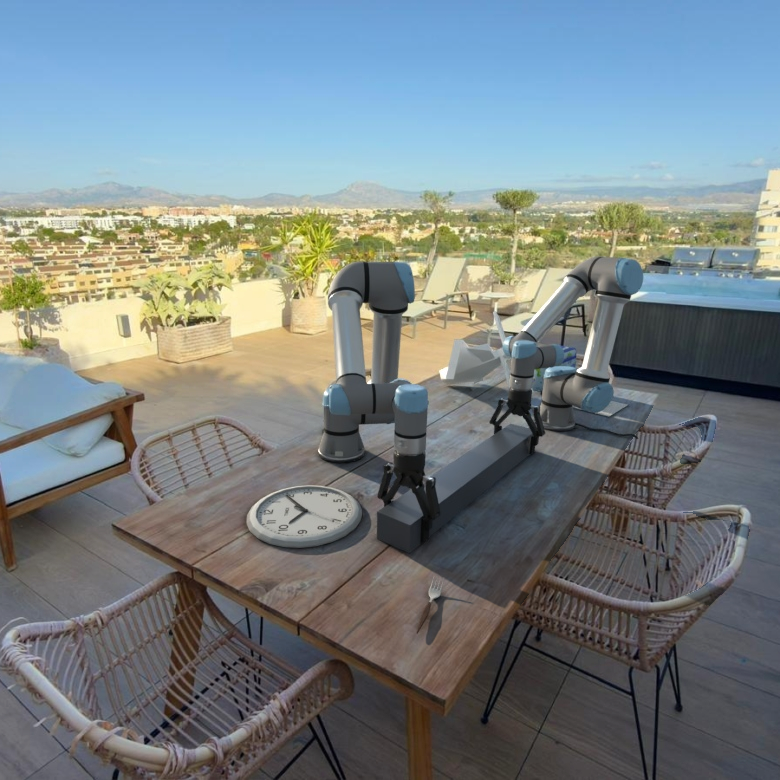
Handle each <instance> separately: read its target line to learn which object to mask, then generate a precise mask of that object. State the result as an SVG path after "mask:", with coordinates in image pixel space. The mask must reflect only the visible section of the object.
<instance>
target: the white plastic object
mask: <svg viewBox="0 0 780 780" xmlns="http://www.w3.org/2000/svg"><path fill="white" fill-rule="evenodd" d="M492 315H493V319H494V321H495V324H496V325H495V326H496V328H497V332H498V335H499V338H500V342H501V345H502V346H503V343H504V341H505V339H506V338H507V337H506V334H505V331H504V328H503V325H502V321H501V318H500V315H499V314H498V312H497V311H496V310H495V311H492ZM508 361H511V357H509V356H507V355H506V354H505V353H504V352H503V347H500V348H498V349H496V350H495V349H493V348H492V347H491V346H490V344H489V343H488V342H487V343H483V344H479V345H473V346H469V345H468V343H466V342H465V340H464V339H463V338H460V339H458V338H454V340H453V344H452V349H451V353H450V357H449V362H448V366H446V367H444V368H442V369H440V370H439V371H438V372H439V376H440V381H442V383H443V384H444V385H445V386H449V385H458V384H467V383H468V384H469V383H473V384H477V383H480V382H482V381H484V378H485V377H486V376H487V375H489V374H490V373H492V372H494V371H495V370H496V369H497V368H499V367H500V366H502V370H503V373H504V376H505V380H506V383H507V386H508V389H509V388H510V386H509V382H510V372H511V370H510V369H509V365H508Z"/></svg>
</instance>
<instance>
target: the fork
mask: <svg viewBox="0 0 780 780" xmlns="http://www.w3.org/2000/svg"><path fill="white" fill-rule="evenodd" d="M438 577H439V576H438V575H437V576H436V579H435V574H433V578H432V580H431V584H430V587H429V589H428V596H429V598H430V599H429V601H428V603H427V604H426V605H425V607H424V609H423V610H422V613H421V616H420V620H419V624H418V625H417V630H416V634H417V635H418V634H419V632H420V630H421V628H422V626H423V625H424V623H425V622H426V620H427V618H428V616H429V613H430V610H431V606H432V603H433V600H435V599H437V598H439V597H441V595H442V591H443V586H444V581H445V578H443V579H442V576H440V577H439V581H438ZM434 580H435V582H434ZM441 580H442V582H441ZM437 582H438V584H437ZM440 584H441V585H440Z"/></svg>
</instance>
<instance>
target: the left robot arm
mask: <svg viewBox="0 0 780 780" xmlns="http://www.w3.org/2000/svg"><path fill="white" fill-rule="evenodd" d="M415 289H416V288H415V280H414V274H413V270H412V268H411V265H410V264H409V263H407V262H404V261H403V262H402V261H395V260H394V261H362V260H361V261H353V262H351V263H348V264H347V265H345V266H344V267H342V268H341V269H340V270H338V272H337V273H336V274H335V276H334V277H333V279H332V280H331V282H330V285H329V288H328V292H327V306H328V308H329V309H330V310H331V313H332V315H331V317H332V332H333V335H332V336H333V350H334V353H333V354H334V369H335V384H331V385H329V387H328V388H327V389H326V390H325V391H324V392H323V395H322V396H323V397H322V407H323V408H322V409H323V420H322V421H323V429H322V430H321V432H322V433H323V434H322V435H321V436H322V437H321V440H320V443H319V446H318V456H319V457H320V459H322V460H324V461H326V462H329V463H334V464H335V463H337V464H345V463H351V462H356V461H358V460H360V459H361V458H363V457H364V456H365V444H364V441H363V439H362V436H361V434H360V426H361V425H382V424H385V425H390V424H394V432H393V433H394V434H393V437H394V438H393V449H394V450H393V462H391V461H390V462H388V463H387V464H385V465H383V466H382V471H383V475H382V478H381V482H380V485H379V488H378V491H377V495H376V497H377V498H378V500H382V502H383V507H385V506H387V505H388V504H390V503H391V502H393V501H394V497H395V496H396V494H397V493H398V491H399V490H400V488H401V487H406V488H407V489H409V490H411V489H412V492H413V493H414V494H415V496H416V498H417V501H418V503H419V505H420V508H421V510H422V513H423V515H424V517H423V518H422V519H421V541H420V542H421V544H424V543H425V542H427V541H428V540H429V539H430V537H429V531H430V530H431V529H432V526H433V520H435V519H436V518H438V517H439V516H440V515H441V513H440V508H439V503H438V498H437V493H436V487H435V484H436V478H435V477H432V478H430V476H427V475H426V473H425V467H426V455H427V452H426V449H427V430H428V429H427V427H428V409H429V405H430V403H429V392H428V389H427V388H426V387H425V386H423V385H421V384H418V383H412V382H411V381H409V380H408V379H406V378H399V367H400V354H401V338H402V321H403V315H404V314H405V313H406V312H407V311H408V309H409V305H410V304H413V303H414V302H415V298H416V290H415ZM363 304H368V309H369V310H370V312H372V313H373V319H372V320H373V321H372V322H373V323H372V344H371V345H372V347H371V370H370V380H368V381H367V375H366V364H365V353H364V342H363V330H362V322H361V321H362V319H361V318H362V317H361V308H362V307H363ZM393 475H395V479H394V481H393V482H392V478H393ZM423 481H424V483H425V484H423ZM391 482H392V485H391ZM390 485H391V486H390ZM418 485H419V487H418V488H416V487H417V486H418ZM425 486H426V492H425V490H424V488H425Z"/></svg>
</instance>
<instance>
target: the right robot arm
mask: <svg viewBox="0 0 780 780" xmlns="http://www.w3.org/2000/svg"><path fill="white" fill-rule="evenodd" d="M643 283H644V270H643V268H642V266H641V264H640V262H639V261H637V260H636V259H633V258H627V257H616V256H615V257H612V256H601V255H600V256H593V257H592V256H591V257H590V258H587V259H586V260H584V261H582V262H580V263H578V265H576V266H575V267H574V268H573V269H572V270H570V271H569V272H568V273H567V275H566V276H564V278H563V279H562V284H561V285H560V286H559V287H558V289H556V290H555V292H554V293H553V294H552V295H551V296H550V298H549V299H548V300H547V301H546V302H545V303H544V305H542V306H541V308H540V309H539V310H538V311H537V312H536V313H535V314H534V316H533V317H532V318H531V319H530V320H529V321H528V322H527V323H526V325H525V326H524V327H523V328H522V329H521V330H520V331H519V332H518V333H517V334H516V335H510V336H507V337H506V339H505V341H504V343H503V345H502V348H503V352H504V353H505V354H506V355H507V356H509V357H511V360H510V382H509V386H510V388H509V387H508V393H507V399H505V398H504V397H502V398H500V399H498V402H497V406H496V409H494V412H493V414H492V416H491V418H490V420H489V422H488V423H489V424H490V425H492V426H493V435H494V434H496V433H497V432H499V431H500V430H502V429H503V425H502V423H503V422H504V421H505V420H506V419H507V418H508V417H510V415H511V414H512V415H514V416H518V417H522V418H523V419H524V420H525V422H526V424H527V426H528V428H530V430H531V432H532V434H533V436H531V443H530V452H529V455H528V456H533V455H534V454H535V452H536V447H537V446H538V445H539V440H540V438H541V437H543V436H545V435H546V430H549V431H556V432H567V431H572V430H574V429H575V428H576V426H578V427H581V428H583V429H586V430H589V431H594V432H604V433H608V434H612V435H615V436H618V437H633V438H634V439H636V440H639V437H638V435H636V434H634V433H618V432H615V431H613V430H610V429H609V430H608V429H604V428H594V427H589V426H586V425H584V424H581V423H577V422H576V418H575V417H576V416H575V413H574V407H578V408H580V409H582V410H581V411H584V412H588V411H589V412H588V413H593V414H596V413H597V412H600V411H602V410H604V409H605V408H606V407H607V406H608V405H609V403H610V402H611V401H613V398H614V394H615V391H614V386H613V385H612V384H611V383H610V379H611V376H610V374H609V373H608V370H609V365H610V361H611V357H612V353H613V349H614V345H615V341H616V338H617V334H618V331H619V326H620V322H621V318H622V314H623V312H624V311H623V310H624V306H625V305H626V304H627V303H628V302H630V301H631V298H632V296H634V295H635V294H637V293H638V292H639V291H640V290H641V288H642V287H643ZM593 290H594V291H595V292H594V296H595V298H596V300H597V303H596V308H595V311H594V314H593V319H592V324H591V328H590V332H589V336H588V340H587V343H586V348H585V351H584V352H585V353H584V357H583V360H582V365H581V367H579V368H577V367H576V366H575V367H569V366H558V365H560V364H561V363H562V362H563V360H564V351H563V349H562V347H561V346H562V345H561V344H560V345H559V344H556V343H550V344H545V343H541V341H542V340H543V339H544V338H545V337H546V336H547V334H548V333H549V332H550V331H551V330H552V329H553V327H555V325H556V324H557V323H558V322H559V321H560V320H561V319H562V318H563V316H564V315H565V314H566V313H567V312H568V311H569V309H570V308H571V307H573V305H574V303H576V301H578V299H579V298H583V297H585V296H586V294H587V293H589V292H590V291H593ZM541 368H547V369H546V370H545V374H544V379H543V390H542V393H541V402H540V405H532V396H533V390H532V388H533V378H534V370H535V369H541ZM504 406H507V410H506V411H505V412H504V414H502V415H501V416H500V414H501V412H502V410H503V408H504ZM580 409H579V410H580ZM530 411H531V412H532V413H533V417H532V414H531V412H530ZM499 416H500V418H499ZM533 418H534V419H533Z"/></svg>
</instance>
